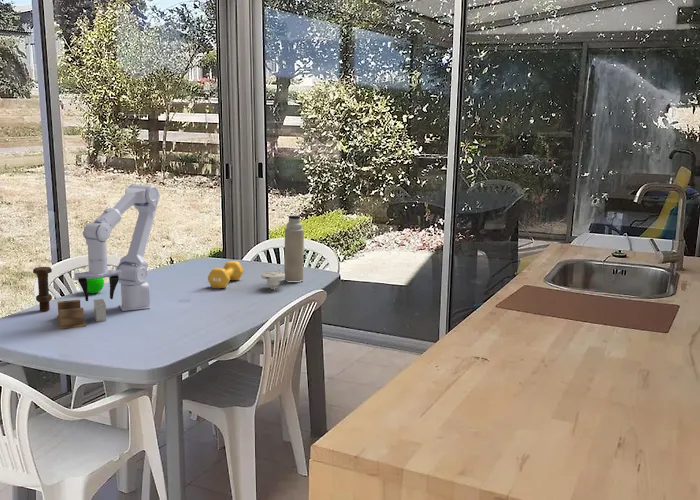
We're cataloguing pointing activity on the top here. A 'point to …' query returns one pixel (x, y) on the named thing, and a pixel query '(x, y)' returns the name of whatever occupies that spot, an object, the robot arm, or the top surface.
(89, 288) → the ornament
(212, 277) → the dumbbell
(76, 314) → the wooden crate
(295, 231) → the thermos bottle
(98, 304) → the grey concrete block
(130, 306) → the robot arm
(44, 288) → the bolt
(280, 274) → the showerhead
